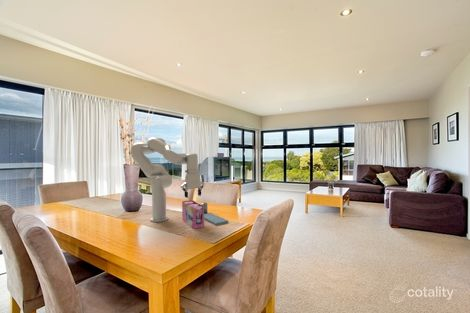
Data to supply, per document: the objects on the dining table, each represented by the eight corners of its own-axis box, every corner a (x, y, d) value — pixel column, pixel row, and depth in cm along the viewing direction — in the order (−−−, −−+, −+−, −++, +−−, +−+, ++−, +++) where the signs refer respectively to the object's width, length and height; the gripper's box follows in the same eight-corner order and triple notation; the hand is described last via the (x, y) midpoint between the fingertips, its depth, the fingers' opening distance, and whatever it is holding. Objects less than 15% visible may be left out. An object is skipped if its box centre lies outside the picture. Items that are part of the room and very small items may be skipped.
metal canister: (200, 213, 183) (199, 203, 183) (205, 212, 186) (205, 202, 186) (202, 214, 179) (202, 204, 179) (208, 213, 182) (208, 203, 181)
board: (199, 217, 172) (199, 215, 172) (210, 214, 178) (210, 212, 178) (215, 225, 152) (215, 223, 152) (228, 222, 158) (228, 220, 158)
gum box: (205, 227, 149) (205, 206, 149) (193, 229, 145) (193, 208, 145) (192, 218, 170) (192, 199, 169) (182, 219, 166) (181, 201, 165)
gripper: (182, 172, 149) (183, 199, 149) (206, 171, 159) (206, 195, 159) (178, 172, 155) (179, 197, 155) (201, 170, 165) (201, 194, 165)
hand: (193, 196), depth 157 cm, fingers open, 9 cm apart
